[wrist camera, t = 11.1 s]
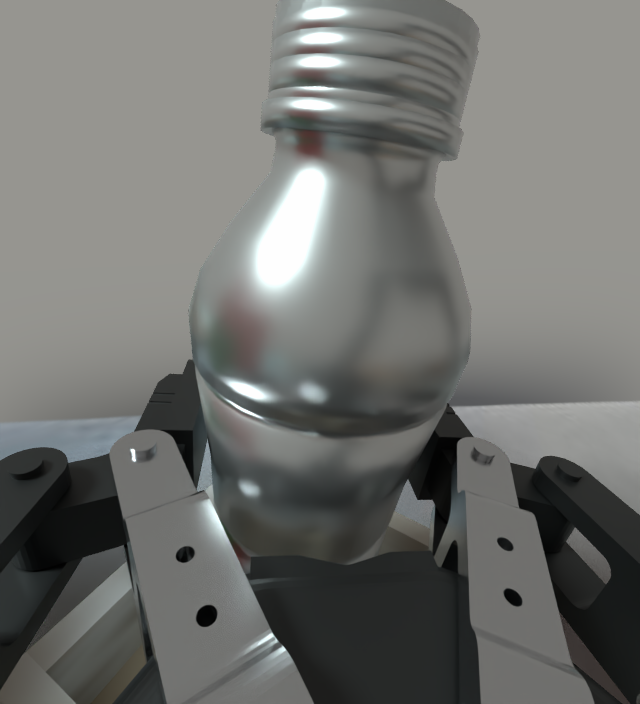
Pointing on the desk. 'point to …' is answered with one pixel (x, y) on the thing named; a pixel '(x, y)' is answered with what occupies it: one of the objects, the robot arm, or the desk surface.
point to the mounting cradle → (119, 638)
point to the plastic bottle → (337, 281)
